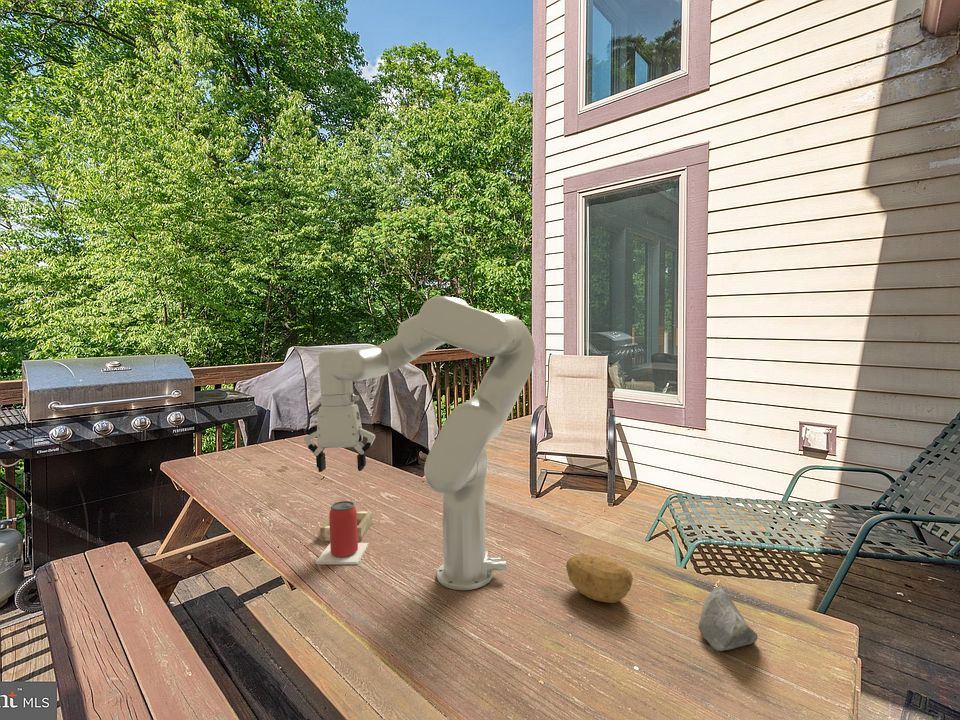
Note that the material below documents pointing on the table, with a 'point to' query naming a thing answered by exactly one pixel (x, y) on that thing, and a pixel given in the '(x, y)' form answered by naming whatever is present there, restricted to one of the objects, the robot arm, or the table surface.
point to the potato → (599, 577)
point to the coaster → (352, 559)
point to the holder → (363, 526)
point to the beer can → (343, 529)
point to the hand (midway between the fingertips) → (341, 469)
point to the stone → (724, 623)
